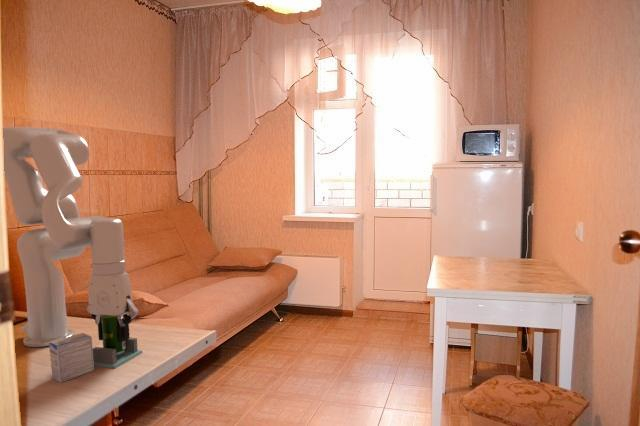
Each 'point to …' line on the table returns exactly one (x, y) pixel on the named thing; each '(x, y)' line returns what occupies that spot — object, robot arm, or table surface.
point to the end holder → (109, 357)
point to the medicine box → (71, 357)
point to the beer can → (112, 334)
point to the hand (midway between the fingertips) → (114, 338)
